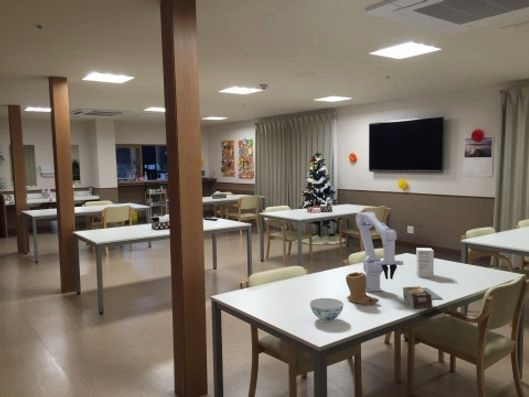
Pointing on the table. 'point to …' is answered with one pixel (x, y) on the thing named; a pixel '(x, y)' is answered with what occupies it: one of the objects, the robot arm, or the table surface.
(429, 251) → the supplement box
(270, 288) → the table surface
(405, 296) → the coffee box
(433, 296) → the mat
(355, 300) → the brown boot shaped vase
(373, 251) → the robot arm
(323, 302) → the chinaware
